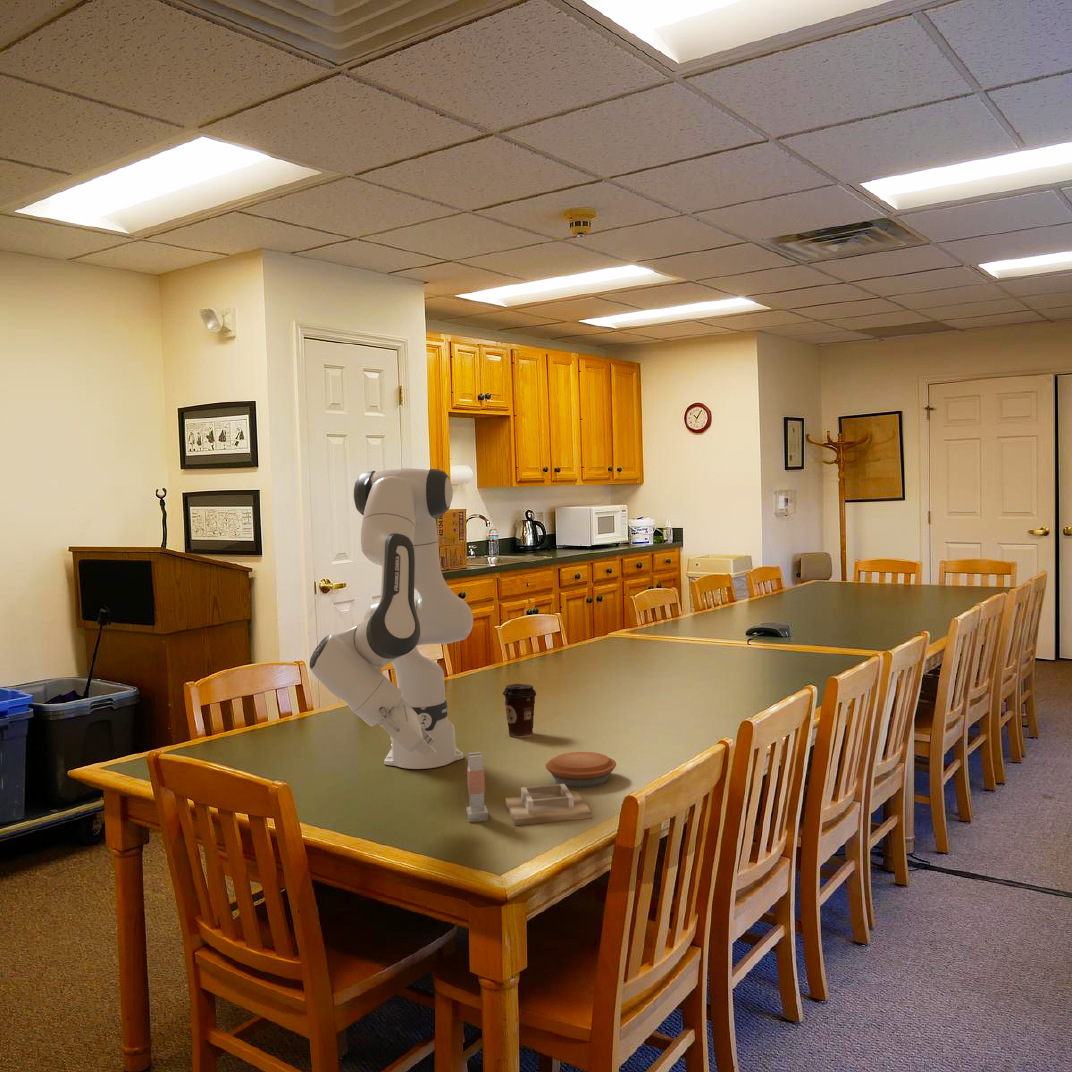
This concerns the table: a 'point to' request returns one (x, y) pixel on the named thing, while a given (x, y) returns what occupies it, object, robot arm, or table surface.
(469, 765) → the grey orange upright bar
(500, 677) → the table surface
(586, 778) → the pie
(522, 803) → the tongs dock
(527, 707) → the coffee cup
